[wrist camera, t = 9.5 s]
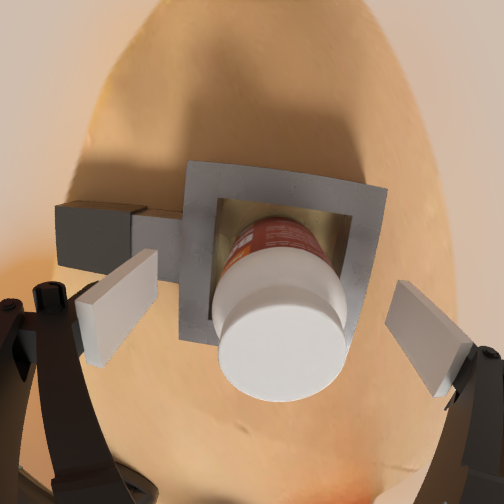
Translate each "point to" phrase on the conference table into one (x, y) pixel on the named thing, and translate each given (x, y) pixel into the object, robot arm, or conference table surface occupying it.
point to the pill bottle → (279, 313)
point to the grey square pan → (226, 232)
